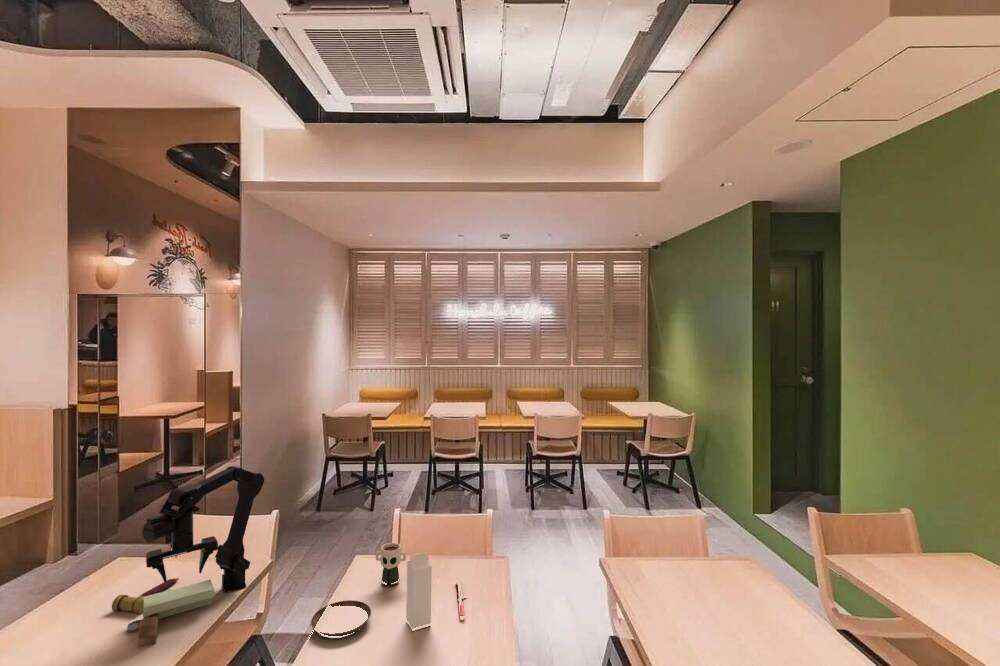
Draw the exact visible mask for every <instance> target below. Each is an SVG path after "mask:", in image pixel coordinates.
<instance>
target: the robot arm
mask: <svg viewBox="0 0 1000 666" xmlns="http://www.w3.org/2000/svg"><path fill="white" fill-rule="evenodd" d="M233 481H234V482H236V483H237V486H236V487H237V494H238V499H237V503H236V506H235V510H234V515H233V517H232V522H231V524H230V528H229V533H228V535H227V539H226V540H225V541H224V543H223V544H218V543H219V542H218V540H217V538H216V536H214V535H213V536H207V537H204V538H201V542H200V543H195V544H194V513H196V512H199V511H200V510H201V508H200V507H198V506H196V505H197V504H198V503H200V501H201V500H202V499H203V498H204V497H205V496H206V495H208V494H210V493H212V492H214V491H216V490H218V489H220V488H221V487H224V486H225V485H227V484H229V483H231V482H233ZM264 484H265V477H264V475H263V473H260V472H255V471H248V470H246V469H243V468H242V467H241V466H233V465H230V466H227V467H226V468H225V469H223V470H221V471H219V472H217V473H215V474H213V475H211V476H209V477H207V478H205V479H203V480H201V481H199V482H196V483H193V484H187V485H182V486H179V487H176V488H174V489H172V490H171V491H170V492H169V495H168V497H167V499H166V501H165V502H164V504H163V505H162V507H161V509H160V510H159V512H158V514H159V515H156V516H153V517H149V518H147V519H146V523H145V524H144V525H143V528H142V530H141V532H142V537H143V539H144V540H145V542H146V543H152V542H154V541H155V542H156V541H157V540H160V539H162V538H164V539H163V542H164V545H168V544H170V549H171V550H167V551H162V548H159V549H155V550H151V551H147V553H146V554H145V563H146V565H145V566H146V568H151V569H153V570H154V569H156V570H157V571H158V573H159V574H160V576H161V578H162V580H163V583H164V582H165V583H166V581H167V580H168V579H167V575H166V568H165V564H164V559H168V558H172V557H176V556H180V555H184V554H189V553H192V552H195V551H196V552H197V551H200V553H199V555H200V556H199V563H198V564H199V565H198V573H199V574H201V573H202V572H203V569H204V567H205V564H206V563H207V561H208V558H210V555H212V554H214V552H215V551H216V554H215V556H214V558H215V564H217V565H218V566H219V568H220V570H222V571H223V574H222V575H221V588H222V590H224V592H225V593H230V592H233V591H236V590H237V591H238V590H241V589H244V588H247V583H246V571H247V570H248V569H249V568H250V565H251V561H250V560H248V559H246V558H245V551H246V549H245V545H244V541H243V540H244V536H245V533H246V530H247V526H248V524H249V519H250V516H251V515H250V514H251V512H252V507H253V504H254V500H255V498H257V496H258V495H259V494H260V493H261V491H262V488H263V486H264ZM174 508H177V509H174Z"/></svg>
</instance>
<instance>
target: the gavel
mask: <svg viewBox="0 0 1000 666" xmlns="http://www.w3.org/2000/svg"><path fill="white" fill-rule="evenodd" d="M178 581H179V577H175V578H169V579H167V581H166V583H165V582H164V581H163V582H162V583H160V584H158V585H156V586H154V587H152V588H151V589H149V590H147V591H145V592H143V593H141V594H140V595H139V596H137V597H136V596H129V595H128V594H119V595H117V596H116V597H115V598H114V599H113V601H112V603H111V610H112V611H113V612H121V611H125V612H134V614H142V615H143V597H145V596H149V595H153V594H156V593H160V592H164V591H167V590H169V588H171V587H173V586H174V585H175V584H176V583H177V582H178Z"/></svg>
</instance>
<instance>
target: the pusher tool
mask: <svg viewBox="0 0 1000 666" xmlns="http://www.w3.org/2000/svg"><path fill="white" fill-rule="evenodd" d="M140 620H141V621H140V624H139V629H138V631H137V632H138V636H137V637H138V639H137V642H138V643H137V644H138V646H137V647H138V648H137V649H140V648H141V647H142V648H145V646H146V647H150V646H154V645H156V643H157V639H158V635H159V634H158V633H159V632H158V630H159V629H158V628H159V623H158V622H159V619H158V613H154V614H151V615H150V617H149V618H146V619H143V618H142V619H140ZM149 645H150V646H149Z"/></svg>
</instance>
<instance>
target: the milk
mask: <svg viewBox="0 0 1000 666" xmlns="http://www.w3.org/2000/svg"><path fill="white" fill-rule="evenodd" d="M429 553H430V552H429V551H424V552H423V551H422V552H420V553H415V554H412V555H410V556H409V560H408V561H407V562H406V604H405V606H406V607H405V609H406V610H405V615H406V616H405V620H406V619H407V621H408V622H409V624H410V626H411V627H412V629H413V628H416V627H419V626H423V625H426V624H430V623H431V622H432V620H431V619H432V573H433V572H432V571H433V569H432V567H433V565H432V562H431V560H430V557H429ZM431 624H432V623H431Z"/></svg>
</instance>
